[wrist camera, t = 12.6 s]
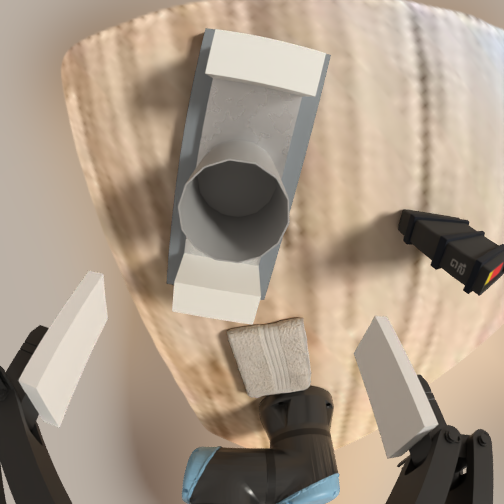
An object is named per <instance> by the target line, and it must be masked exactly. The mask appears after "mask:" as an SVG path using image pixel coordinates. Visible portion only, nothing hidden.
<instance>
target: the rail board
mask: <svg viewBox="0 0 504 504" xmlns="http://www.w3.org/2000/svg"><path fill="white" fill-rule="evenodd" d="M215 30H216V29H207V28H206V29H205V33H204V37H203V41H202V46H201V50H200V54H199V58H198V63H197V67H196V72H195V77H194V81H193V86H192V91H191V96H190V101H189V107H188V112H187V118H186V123H185V129H184V135H183V141H182V147H181V154H180V161H179V168H178V175H177V182H176V190H175V198H174V207H173V215H172V225H171V235H170V246H169V258H168V271H167V284H172V285H174V282H175V279H176V276H177V273H178V270H179V267H180V264H181V261H182V258H183V255H184V251H185V242H186V235H185V234H184V232H183V231H182V230H181V224H180V217H179V211H178V205H179V202H180V199H181V196H182V193H183V190H184V187H185V184H186V182H187V181H188V179H189V178H190V176H191V175H192V173H193V172H194V170H195V169H196V165H197V159H198V153H199V147H200V141H201V136H202V130H203V125H204V120H205V114H206V109H207V104H208V99H209V95H210V90H211V85H212V80H213V78H212V77H210V76H208V75H207V74H205V72H206V67H207V63H208V58H209V54H210V50H211V46H212V42H213V37H214V33H215ZM330 56H331V55H329V54H326V56H325V60H324V64H323V68H322V72H321V76H320V80H319V84H318V88H317V92H316V96H315V97H302V99H301V103H300V107H299V111H298V115H297V119H296V123H295V127H294V131H293V135H292V139H291V143H290V147H289V151H288V155H287V159H286V163H285V167H284V171H283V175H282V179H281V181H282V183H283V185H284V188H285V190H286V193H287V195H288V198H289V213H290V209H291V205H292V202H293V198H294V195H295V191H296V187H297V184H298V180H299V176H300V173H301V169H302V165H303V162H304V158H305V154H306V151H307V147H308V143H309V139H310V135H311V132H312V128H313V124H314V120H315V116H316V112H317V108H318V104H319V101H320V97H321V93H322V89H323V85H324V81H325V77H326V73H327V68H328V64H329V60H330ZM281 241H282V238H281V240H280V242H279V244H278V245H276V246H275V247H274V248H272V249H271V250H270V251H269V252H267V253H266V254H265V255H263V256H262V257H261V259H260V263H259V277H260V291H261V298H260V299H261V300H264V298H265V295H266V292H267V288H268V285H269V282H270V278H271V275H272V272H273V268H274V265H275V261H276V258H277V254H278V251H279V248H280V244H281Z"/></svg>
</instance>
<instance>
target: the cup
mask: <svg viewBox="0 0 504 504" xmlns="http://www.w3.org/2000/svg"><path fill="white" fill-rule="evenodd" d="M178 211H179V217H180V224H181V230H182V231H183V232H184V234H185V235H186V237H187V238H188V239H189V241H190V242H191V244H192V245H193V246H194V248H195V249H197V250H199V251H200V252H202V253H204V254H205V255H207V256H209V257H210V258H212V259H214V260H218V261H225V262H232V263H241V262H245V261H249V260H253V259H257V258H261V257H262V256H263V255H265V254H266V253H267V252H269V251H270V250H271V249H272V248H274V247H275V246H276V245H278V244H279V242H280V240H281V238H282V237H283V235H284V233H285V231H286V229H287V227H288V225H289V198H288V195H287V193H286V190H285V188H284V185H283V183H282V181H281V178H280V176H279V173H278V171H277V169H276V167H275V165H274V163H273V161H272V159H271V158H270V156H269V154H268V152H266V151H265V150H263V149H262V148H260V147H259V146H257V145H256V144H255V143H253V142H247V141H241V140H231V141H228V142H224V143H221V144H218V145H216V146H215V147H214V148H213V149H212V150H211V151H210V152H208V153H207V154H206V155H205V156H204V157H203V159H202V160H201V162H200V163H199V164H198V166H197V167H196V169H195V170H194V172H193V173H192V175H191V176H190V178H189V179H188V181H187V182H186V184H185V187H184V190H183V193H182V196H181V199H180V202H179V205H178Z"/></svg>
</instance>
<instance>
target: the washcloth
mask: <svg viewBox="0 0 504 504" xmlns="http://www.w3.org/2000/svg"><path fill="white" fill-rule="evenodd" d="M227 336H228V338H229V339H228V341H229V343H230V346H231V348H232V352H233V353H234V358H235V359H236V362H237V365H238V370H239V371H240V374H241V377H242V379H243V383H244V385H245V388H246V391H247V394H248V396H250V397H255V398H259V397H261V396H265V395H271V394H280V393H290V392H296V391H301V390H305V389H307V388H309V386H310V383H311V367H310V360H309V353H308V346H307V337H306V331H305V329H304V321H303V318H293V319H288V320H284V321H279V322H277V323H273V324H265V325H259V324H257V325H252V326H247V327H240V328H234V329H230V330H229V331H227Z"/></svg>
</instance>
